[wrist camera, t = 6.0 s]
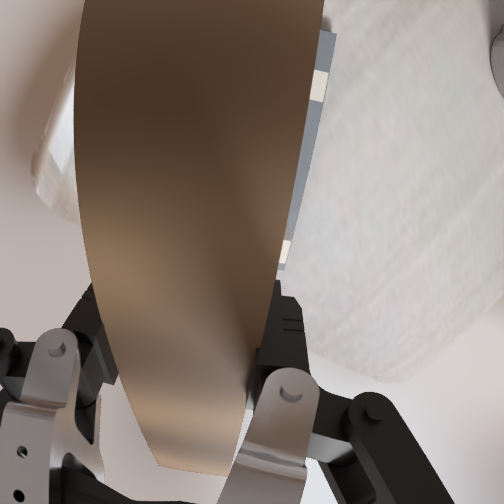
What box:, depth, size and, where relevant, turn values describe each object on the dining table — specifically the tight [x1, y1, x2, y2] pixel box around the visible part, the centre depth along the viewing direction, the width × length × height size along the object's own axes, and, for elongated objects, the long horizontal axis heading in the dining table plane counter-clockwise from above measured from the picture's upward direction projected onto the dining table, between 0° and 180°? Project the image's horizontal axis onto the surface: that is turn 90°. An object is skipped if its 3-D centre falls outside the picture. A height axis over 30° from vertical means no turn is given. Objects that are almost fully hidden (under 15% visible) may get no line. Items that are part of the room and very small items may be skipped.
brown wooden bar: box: [74, 0, 324, 477], centre depth 9 cm, size 22×4×4 cm, turn 173°
